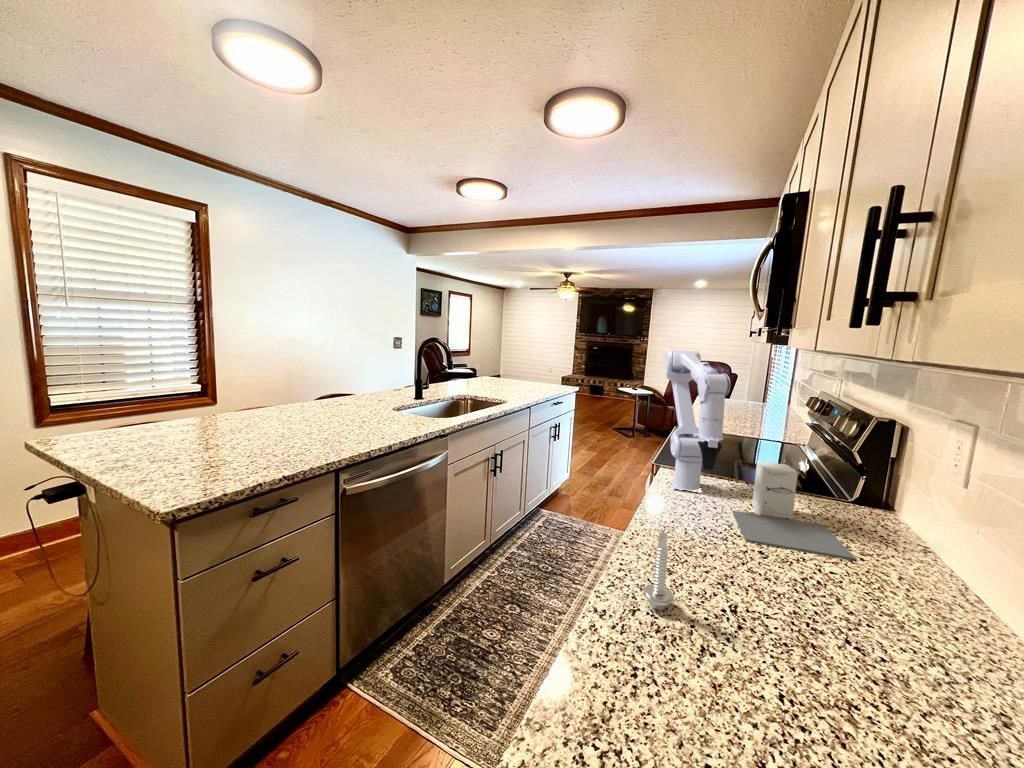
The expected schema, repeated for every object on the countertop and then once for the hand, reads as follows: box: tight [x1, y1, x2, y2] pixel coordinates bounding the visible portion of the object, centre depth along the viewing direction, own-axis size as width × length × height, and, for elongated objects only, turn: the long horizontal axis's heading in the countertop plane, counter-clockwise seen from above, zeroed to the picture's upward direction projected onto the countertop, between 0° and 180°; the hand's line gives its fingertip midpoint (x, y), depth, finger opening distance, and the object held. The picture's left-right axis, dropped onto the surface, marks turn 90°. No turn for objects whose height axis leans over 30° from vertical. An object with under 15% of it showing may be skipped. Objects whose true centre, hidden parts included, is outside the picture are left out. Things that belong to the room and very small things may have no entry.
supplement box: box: [752, 460, 799, 520], centre depth 103 cm, size 7×7×13 cm
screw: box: [642, 531, 675, 611], centre depth 65 cm, size 13×5×5 cm
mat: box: [731, 510, 856, 561], centre depth 92 cm, size 16×20×1 cm
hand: (707, 469), depth 105 cm, fingers closed
